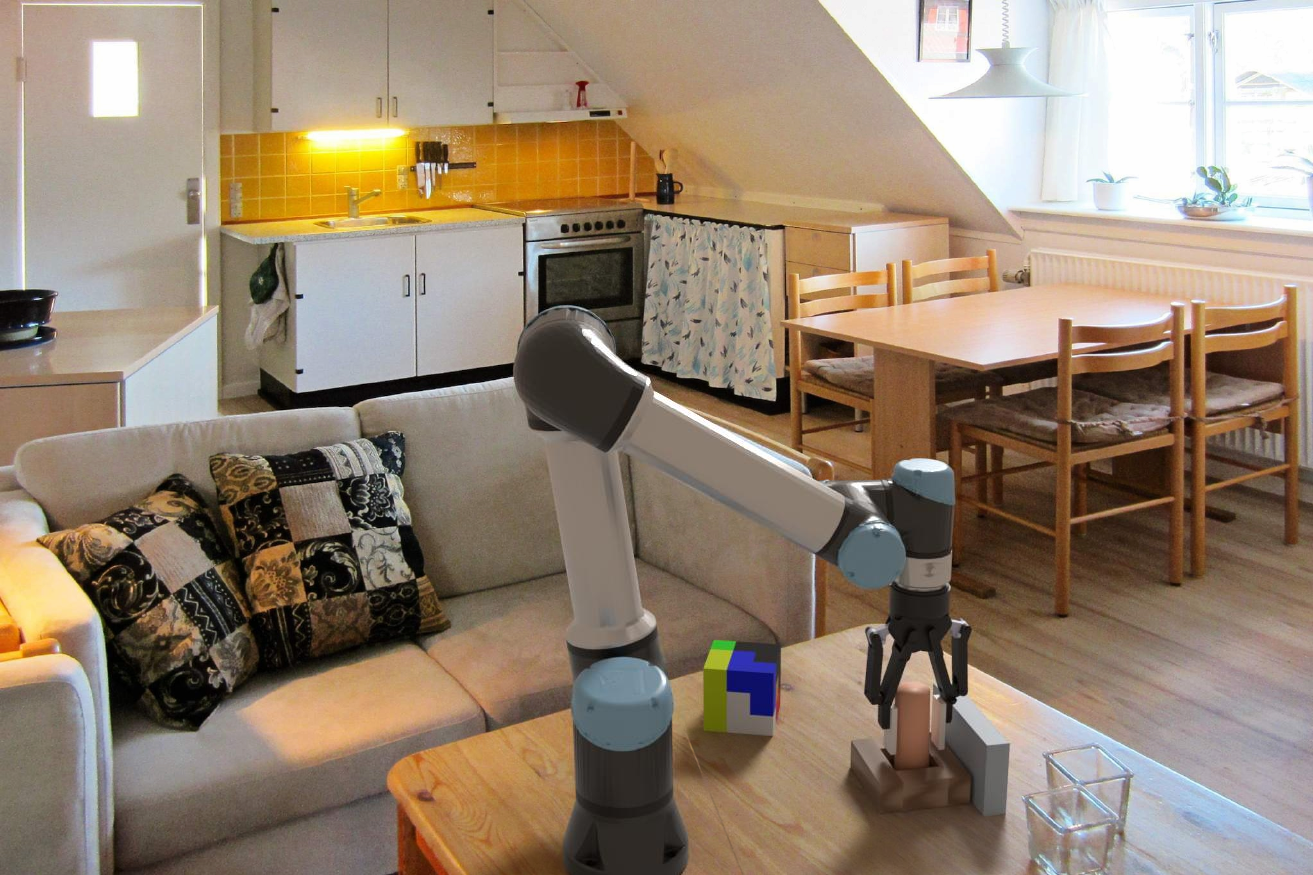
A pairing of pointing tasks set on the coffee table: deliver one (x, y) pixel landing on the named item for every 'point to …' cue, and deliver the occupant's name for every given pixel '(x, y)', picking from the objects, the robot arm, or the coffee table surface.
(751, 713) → the puzzle toy
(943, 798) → the block
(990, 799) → the board
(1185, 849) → the coffee table surface
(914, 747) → the dowel
